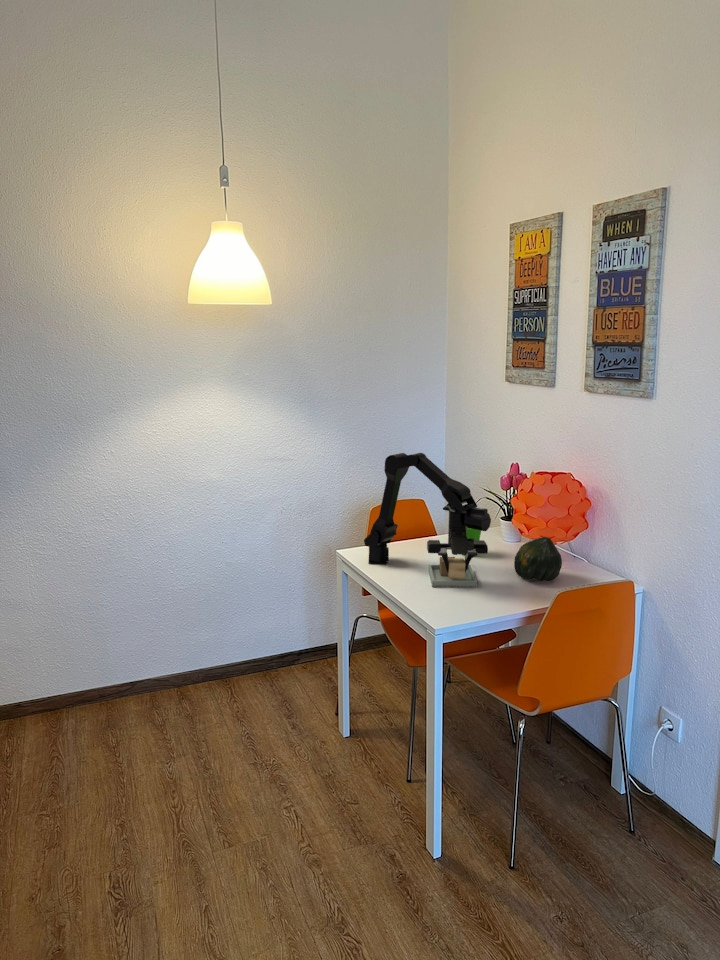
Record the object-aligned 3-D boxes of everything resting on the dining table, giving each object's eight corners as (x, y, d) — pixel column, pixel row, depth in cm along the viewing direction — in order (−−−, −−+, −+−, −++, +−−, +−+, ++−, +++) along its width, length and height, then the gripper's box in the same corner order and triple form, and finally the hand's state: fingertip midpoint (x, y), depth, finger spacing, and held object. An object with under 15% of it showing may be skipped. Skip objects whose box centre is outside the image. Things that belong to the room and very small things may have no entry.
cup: (481, 551, 255) (482, 522, 253) (482, 559, 246) (483, 529, 244) (456, 550, 256) (457, 521, 253) (457, 558, 247) (457, 528, 245)
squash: (501, 556, 232) (522, 531, 221) (537, 552, 238) (559, 528, 227) (518, 593, 224) (541, 570, 213) (555, 588, 230) (579, 565, 219)
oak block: (447, 572, 225) (447, 558, 224) (463, 573, 225) (463, 558, 224) (449, 578, 220) (449, 563, 219) (464, 578, 220) (465, 563, 219)
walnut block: (439, 571, 232) (439, 556, 231) (454, 571, 232) (454, 556, 231) (440, 576, 227) (441, 561, 226) (456, 576, 227) (456, 561, 226)
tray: (432, 587, 219) (432, 581, 218) (428, 570, 235) (428, 564, 234) (476, 587, 219) (477, 581, 218) (470, 570, 234) (470, 564, 234)
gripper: (430, 532, 212) (428, 581, 215) (491, 532, 211) (489, 581, 214) (427, 522, 222) (426, 569, 226) (485, 522, 222) (483, 569, 225)
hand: (456, 572), depth 222 cm, fingers closed on oak block, 5 cm apart
